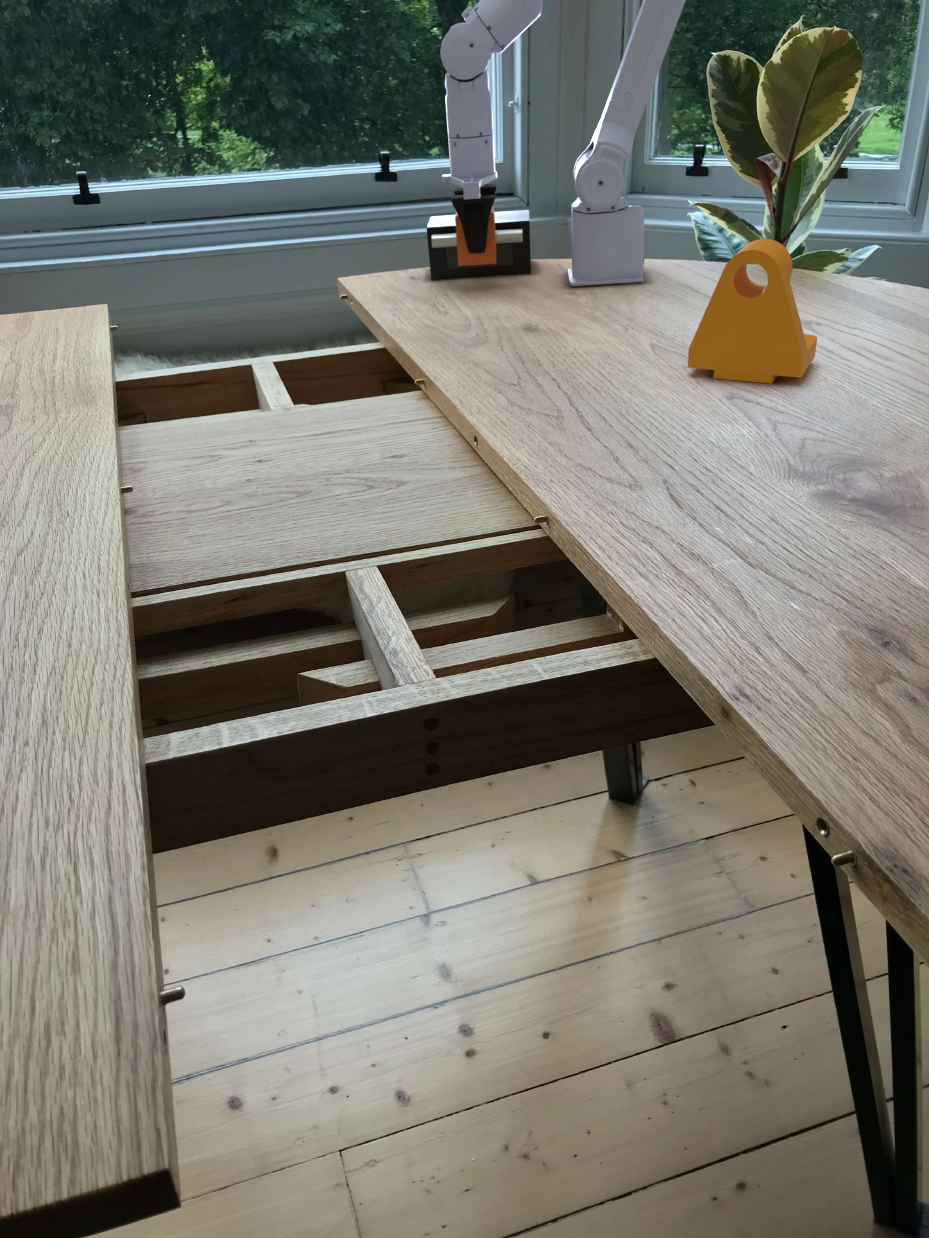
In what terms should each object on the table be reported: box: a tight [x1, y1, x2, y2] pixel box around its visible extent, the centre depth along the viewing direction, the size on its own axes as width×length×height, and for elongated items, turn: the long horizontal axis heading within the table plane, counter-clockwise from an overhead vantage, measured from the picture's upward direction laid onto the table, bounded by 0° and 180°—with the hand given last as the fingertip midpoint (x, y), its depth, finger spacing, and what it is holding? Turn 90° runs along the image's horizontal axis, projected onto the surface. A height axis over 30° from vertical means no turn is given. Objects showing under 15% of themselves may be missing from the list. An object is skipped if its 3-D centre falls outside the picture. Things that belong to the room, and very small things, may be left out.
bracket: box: [687, 238, 818, 385], centre depth 93 cm, size 11×7×12 cm, turn 62°
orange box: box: [454, 207, 497, 266], centre depth 129 cm, size 5×4×6 cm
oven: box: [426, 209, 532, 281], centre depth 135 cm, size 14×13×7 cm
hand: (477, 248), depth 130 cm, fingers closed on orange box, 4 cm apart
